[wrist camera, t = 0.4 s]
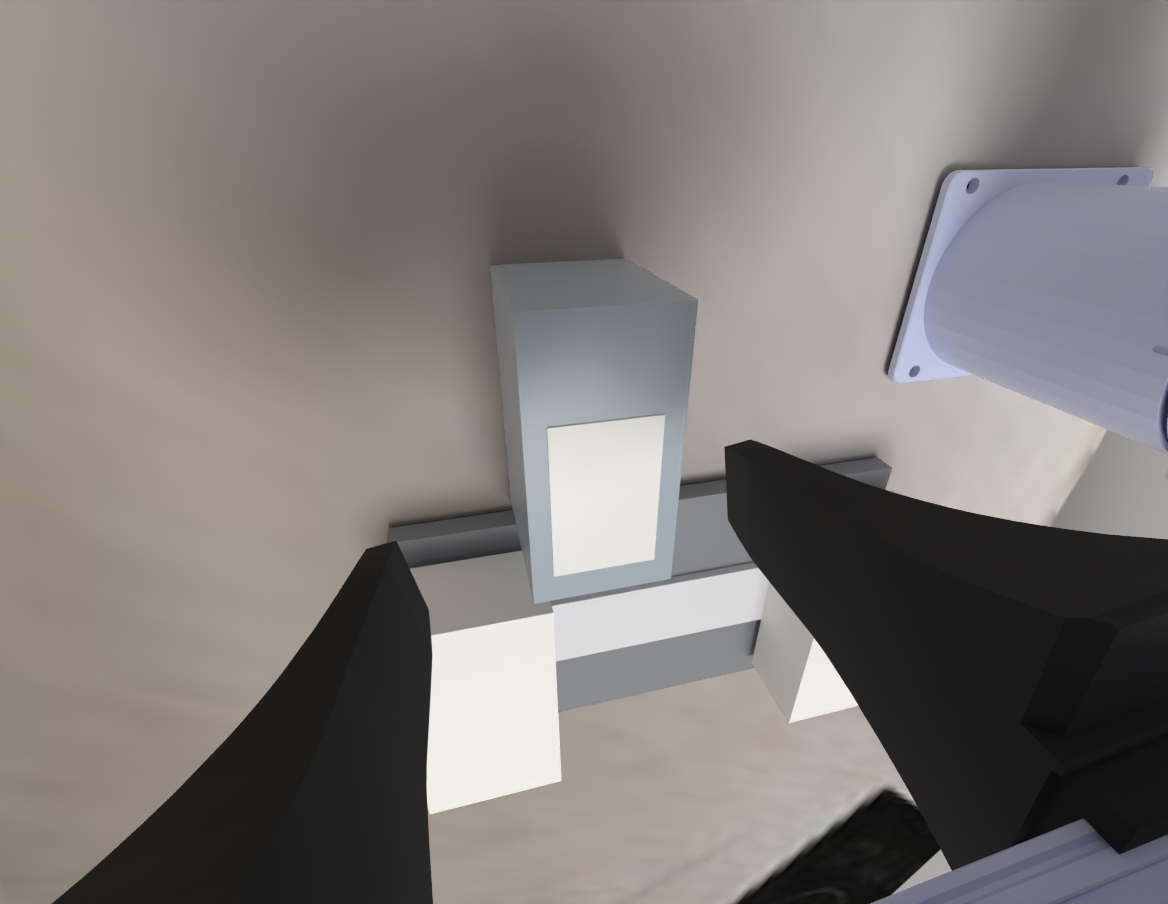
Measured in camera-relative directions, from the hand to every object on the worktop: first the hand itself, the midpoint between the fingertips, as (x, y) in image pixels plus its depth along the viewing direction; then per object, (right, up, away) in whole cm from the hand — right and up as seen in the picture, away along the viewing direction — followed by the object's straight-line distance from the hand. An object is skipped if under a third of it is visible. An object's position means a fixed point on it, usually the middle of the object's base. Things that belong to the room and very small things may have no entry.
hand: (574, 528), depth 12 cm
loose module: (-1, +4, +8) cm, 9 cm away
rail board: (+3, -5, +14) cm, 16 cm away
